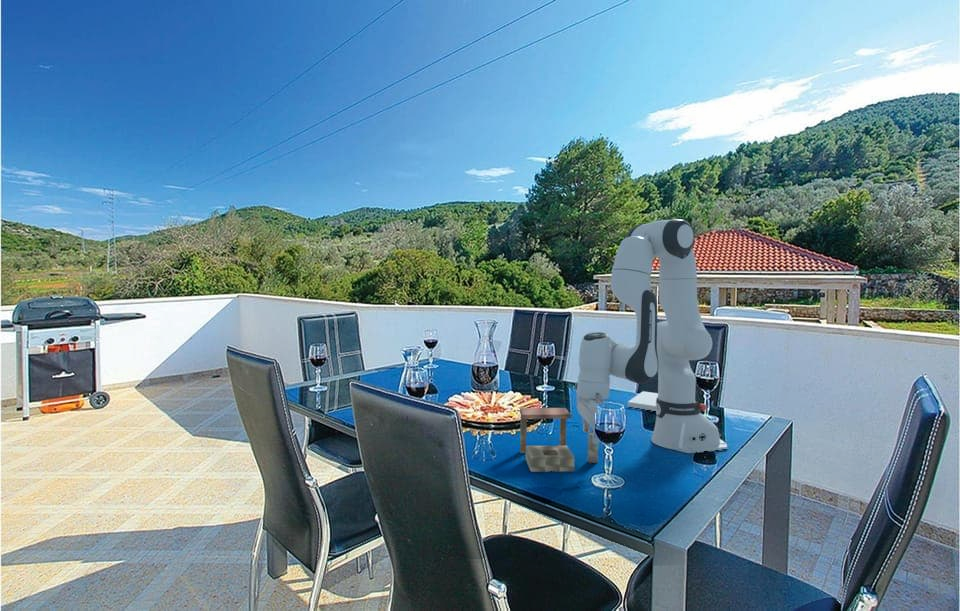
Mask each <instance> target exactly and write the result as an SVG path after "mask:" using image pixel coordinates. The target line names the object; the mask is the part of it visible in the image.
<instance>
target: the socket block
mask: <svg viewBox="0 0 960 611" xmlns="http://www.w3.org/2000/svg"><path fill="white" fill-rule="evenodd" d="M525 461H526V463H527V466H528V469H529V471H531V472H534V473H535V472H537V473H538V472H540V473H541V472H547V473H548V472H550V471H552V472H553V471H554V472H575V456H574V454H573V453H572V451H571V449H570V448H569V446H568V445H566V446H559V445H526V453H525ZM550 473H551V472H550Z"/></svg>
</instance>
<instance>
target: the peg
mask: <svg viewBox="0 0 960 611" xmlns="http://www.w3.org/2000/svg"><path fill="white" fill-rule="evenodd" d="M592 436H593V432H590V433H587V439H588V440H587V463H588V462H589V464H591V463H597V462H598V461H599V460H598V459H599V444H594V443H593V442H592ZM597 464H598V463H597Z"/></svg>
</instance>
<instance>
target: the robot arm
mask: <svg viewBox="0 0 960 611" xmlns="http://www.w3.org/2000/svg"><path fill="white" fill-rule="evenodd" d="M695 238H696V237H695V230H694V228H693V226H692V225H691V223H690V222H688V220H685V219H680V218H679V219H678V218H673V219H664V220H663V219H662V220H654V221H653V222H648V223H645V224H644V223H641V224H640V223H639V224H637V225H635V226H633V227H631V228H630V229H629V230H628V231H627V233H626V235H625V237H624V238H623V240H622V241H621V242H620V244H619V246H618V248H617V252H616V255H615V258H614V261H613V265H612V271H611V275H610V290H611V292H612V294H613V295H614V297H616V299H617V300H619V301H620V302H621V303H623V304H625V305H627V306H628V307H630V308H631V309H632V310H633V312H634V313H635V316H636V338H635V339H636V341H635V345H634V346H633V345H627V344H622V343H619V342H616V341H615V340H613V339H612V338H611V337H610V336H611V335H609V333H606V332H602V331H601V332H599V331H598V332H590V333H587V334H585V335H584V336H583V337H582V339H581V342H580V347H579V348H580V349H579V355H578V356H579V357H578V366H579V374H578V377H577V378H578V379H577V381H576V382H575V386H574V388H575V390H576V408H577V409H576V410H577V412H578V413H579V415H580V416H581V420H582V425H583V427H582V431H583V432H584V433H585V434H586V433H587V434H589V433H591V428H592V433H593V436H592V442H593V443H594V444H598V445H599V444H600V443H601V439H600V440H599V439H598V437H597V435H596V433H595V413H596V408H597V406H598V404H603V403H607V402H606V401H605V400H607V399H609V397H610V388H611V385H610V383H611V379H610V376H613V377H616V378H620V379H623V380H627V381H630V382H631V383H635V384H638V385H644V384H647V383H649V382H650V381H651V380H653V379H654V378H655V377H656V376H658V377H657V380H658V382H657V393H658V397H657V398H656V412H655V415H656V417H655V424H654V428H653V432H652V435H651V438H650V441H651V442H652V443H653V444H654V445H655V446H656V445H657V446H659V447H662V448H665V449H669V450H674V451H678V452H682V453H684V454H685V453H686V454H696V452H697V453H704V451H708V452H716V451H715V450H719V451H722V450H721V449H727V450H728V444H727V443H726V441H724V440H723V439H721V438H720V432H719V429H718V427H717V426H716V425H715V423H713V422H712V421H711V420H709V418H707V417H706V416H705V415H704V414H703V413H701V411H703V412H704V411H705V412H706V410H707V409H708V406H707V405H706V404H704V402H703V403H700V402H699V401H697V400H696V385H697V384H696V380H697V378H696V375H695V372H693V369H692V368H691V364H690V361H698V360H699V361H700V360H702V359H704V358H706V357H707V356H708V355H709V354H710V353H711V350H712V348H713V339H712V337H711V334H710V333H709V332H708V330H707V328H706V327H705V325H704V323H703V320H702V316H701V312H700V308H699V304H698V278H697V277H698V272H697V263H696V256H695V252H694V249H693V247H694V244H695ZM656 258H657V259H658V261H659V272H658V290H659V292H658V293H659V294H658V296H659V298H658V300H657V296H656V295H655V294H654V293H653V292H652V288H651V287H652V286H651V277H652V269H653V260H654V259H656ZM658 302H659V305H660V307H661V309H662V310H663V312H664V315H665V320H663V321H662V320H661V321H658ZM700 410H701V411H700Z"/></svg>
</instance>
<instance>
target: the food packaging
mask: <svg viewBox="0 0 960 611" xmlns="http://www.w3.org/2000/svg"><path fill="white" fill-rule="evenodd" d="M657 397H658V392H652V391H651V392H650V391H641V392H640V393H638V394H637V395H635V396H634V397H632V398H631V399H630V400H627V407H628V406H629V407H634V408H640V409H645V410H644V411H646V410H651V411H650V412H652V411H656V398H657ZM629 407H628V408H629ZM634 408H633V409H634ZM640 409H639V410H640Z"/></svg>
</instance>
